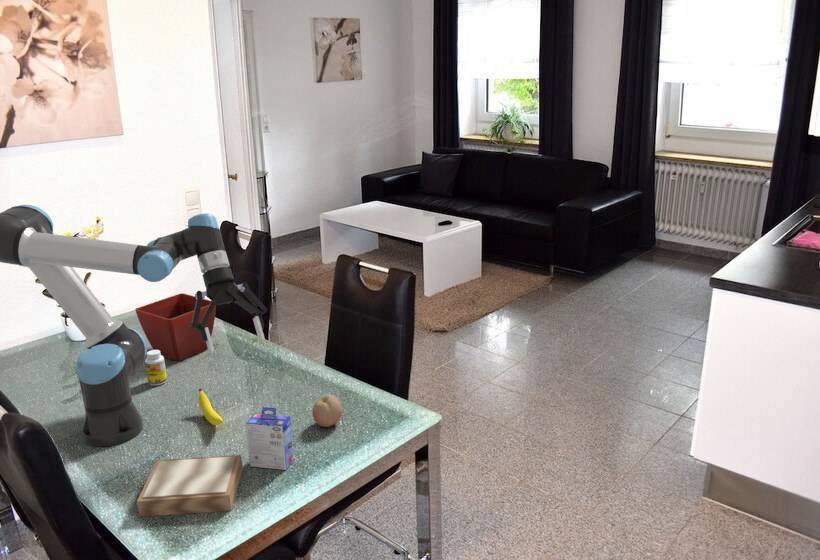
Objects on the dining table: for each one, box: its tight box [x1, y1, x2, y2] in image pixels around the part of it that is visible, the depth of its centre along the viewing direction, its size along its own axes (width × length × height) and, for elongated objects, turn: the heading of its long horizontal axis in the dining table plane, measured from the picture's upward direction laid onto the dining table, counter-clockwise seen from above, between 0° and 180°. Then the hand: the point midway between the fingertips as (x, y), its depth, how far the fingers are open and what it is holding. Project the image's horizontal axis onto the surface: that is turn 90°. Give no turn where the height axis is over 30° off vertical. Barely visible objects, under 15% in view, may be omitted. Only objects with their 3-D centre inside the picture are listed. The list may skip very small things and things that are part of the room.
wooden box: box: [136, 454, 244, 517], centre depth 160 cm, size 20×16×4 cm
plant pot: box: [135, 292, 217, 362], centre depth 235 cm, size 19×19×17 cm
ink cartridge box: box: [245, 406, 295, 471], centre depth 169 cm, size 10×6×14 cm, turn 78°
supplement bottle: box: [144, 349, 168, 386], centre depth 214 cm, size 6×6×10 cm
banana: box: [198, 388, 224, 427], centre depth 190 cm, size 3×19×6 cm, turn 32°
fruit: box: [311, 394, 343, 428], centre depth 187 cm, size 8×8×8 cm
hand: (237, 346), depth 181 cm, fingers open, 13 cm apart
